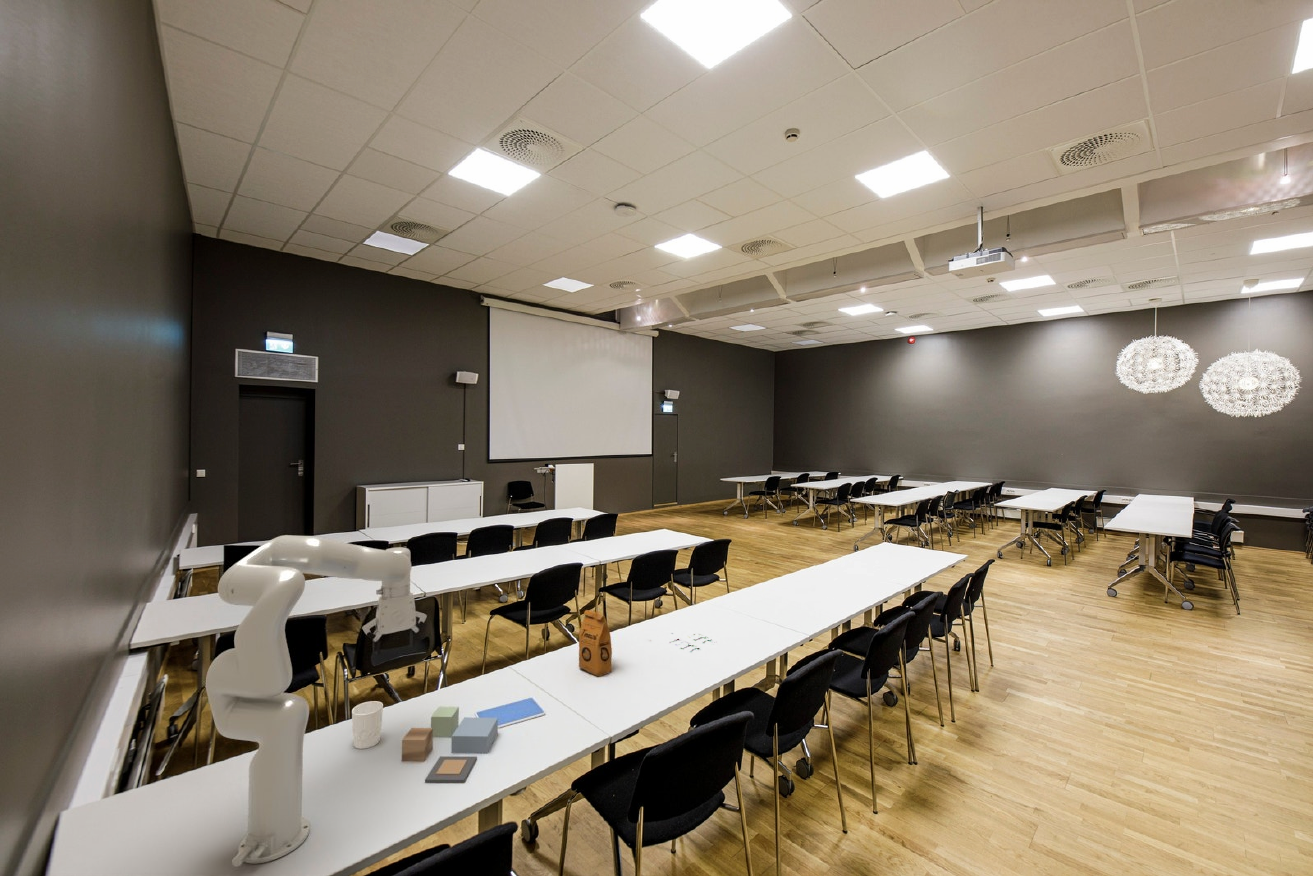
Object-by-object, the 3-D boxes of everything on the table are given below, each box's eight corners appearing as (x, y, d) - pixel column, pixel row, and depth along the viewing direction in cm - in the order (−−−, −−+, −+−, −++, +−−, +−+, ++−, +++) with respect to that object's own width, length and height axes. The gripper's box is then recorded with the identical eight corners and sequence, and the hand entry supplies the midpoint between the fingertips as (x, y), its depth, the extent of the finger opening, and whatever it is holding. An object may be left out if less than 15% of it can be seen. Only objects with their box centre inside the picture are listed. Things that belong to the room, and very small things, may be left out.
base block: (487, 754, 149) (487, 736, 149) (451, 754, 149) (451, 736, 149) (497, 734, 159) (497, 717, 159) (464, 734, 159) (464, 717, 159)
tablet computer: (485, 734, 160) (485, 729, 160) (474, 715, 170) (474, 711, 170) (546, 716, 170) (546, 712, 170) (532, 700, 181) (532, 696, 181)
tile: (464, 783, 136) (464, 778, 136) (424, 782, 136) (425, 778, 136) (476, 759, 146) (476, 755, 146) (440, 759, 146) (440, 755, 146)
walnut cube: (423, 762, 145) (424, 739, 145) (401, 761, 145) (402, 739, 145) (432, 749, 151) (433, 728, 151) (411, 749, 151) (411, 727, 151)
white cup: (347, 752, 149) (348, 716, 149) (355, 737, 156) (356, 702, 156) (378, 748, 151) (379, 712, 151) (385, 733, 158) (385, 699, 158)
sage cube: (451, 737, 157) (451, 717, 157) (430, 737, 157) (431, 716, 157) (458, 726, 163) (458, 706, 163) (438, 726, 163) (439, 706, 163)
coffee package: (595, 679, 196) (595, 619, 196) (575, 669, 205) (576, 611, 205) (615, 671, 203) (616, 614, 203) (595, 661, 212) (596, 606, 212)
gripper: (366, 599, 148) (365, 661, 148) (430, 588, 159) (430, 645, 159) (359, 593, 153) (359, 652, 153) (422, 583, 165) (421, 638, 165)
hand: (395, 649), depth 156 cm, fingers open, 9 cm apart
